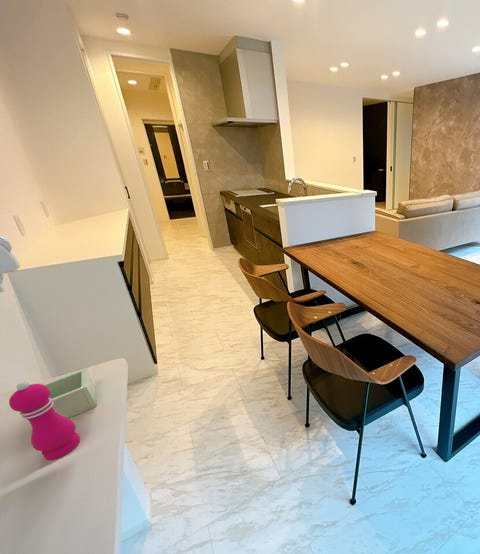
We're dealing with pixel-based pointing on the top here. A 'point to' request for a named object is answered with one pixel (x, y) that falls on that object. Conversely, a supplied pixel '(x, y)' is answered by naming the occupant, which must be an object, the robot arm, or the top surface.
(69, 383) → the holder
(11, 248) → the robot arm
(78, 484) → the top surface
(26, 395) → the pepper mill
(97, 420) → the top surface
